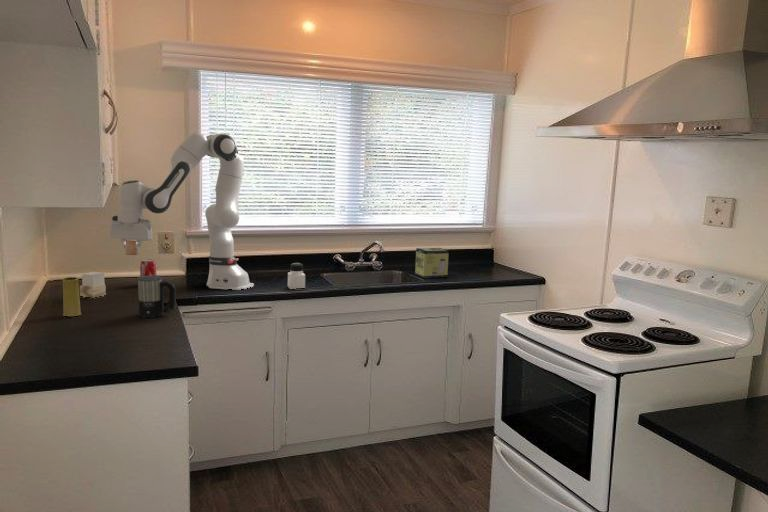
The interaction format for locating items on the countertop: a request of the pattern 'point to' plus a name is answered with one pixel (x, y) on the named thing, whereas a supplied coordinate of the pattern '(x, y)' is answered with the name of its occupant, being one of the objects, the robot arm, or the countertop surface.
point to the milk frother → (154, 295)
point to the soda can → (147, 267)
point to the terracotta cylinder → (131, 247)
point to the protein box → (431, 262)
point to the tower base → (92, 291)
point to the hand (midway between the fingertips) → (131, 249)
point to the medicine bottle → (296, 276)
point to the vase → (71, 297)
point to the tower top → (93, 279)
